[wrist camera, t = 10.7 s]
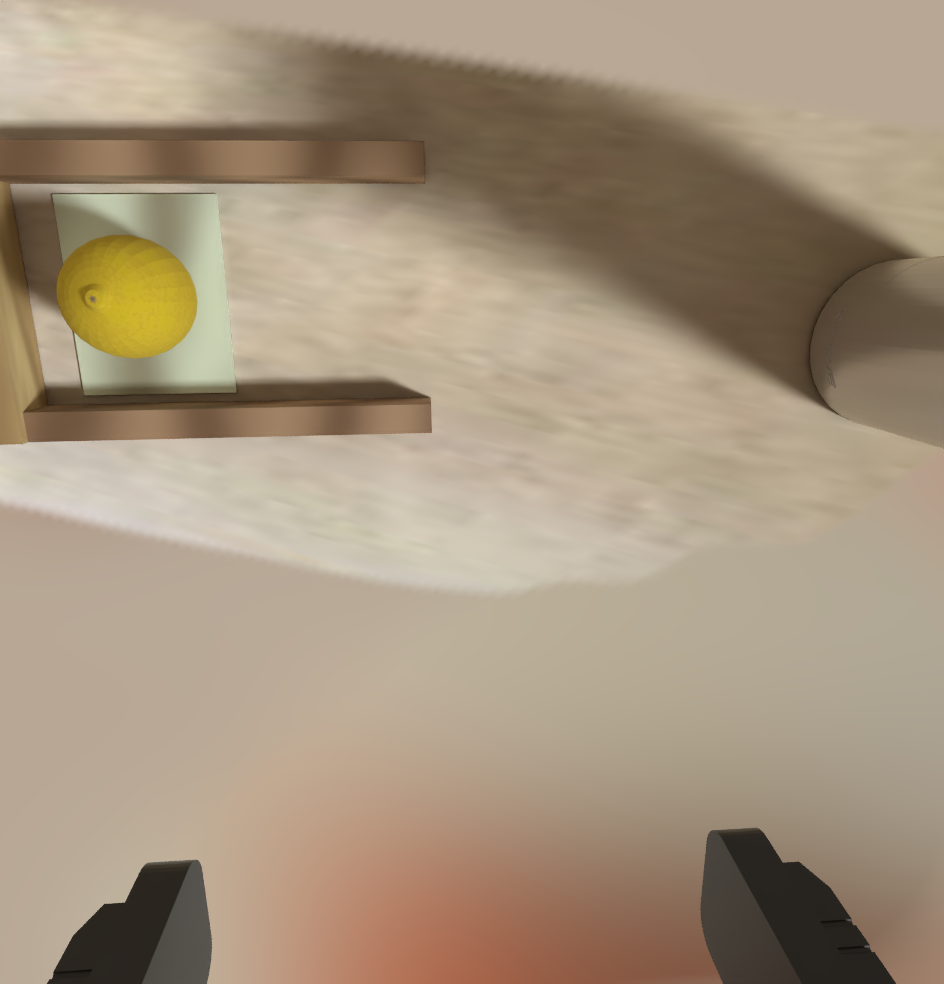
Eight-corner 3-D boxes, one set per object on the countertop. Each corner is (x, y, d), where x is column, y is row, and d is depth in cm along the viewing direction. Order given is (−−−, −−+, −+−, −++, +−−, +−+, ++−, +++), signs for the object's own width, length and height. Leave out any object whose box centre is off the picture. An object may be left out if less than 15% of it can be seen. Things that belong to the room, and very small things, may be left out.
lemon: (84, 274, 36) (-8, 269, 28) (175, 220, 36) (108, 201, 28) (148, 370, 38) (78, 390, 30) (237, 319, 37) (189, 326, 29)
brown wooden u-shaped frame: (424, 151, 36) (424, 138, 33) (431, 424, 39) (431, 434, 37) (-29, 150, 34) (-71, 137, 31) (24, 433, 38) (-9, 444, 35)
